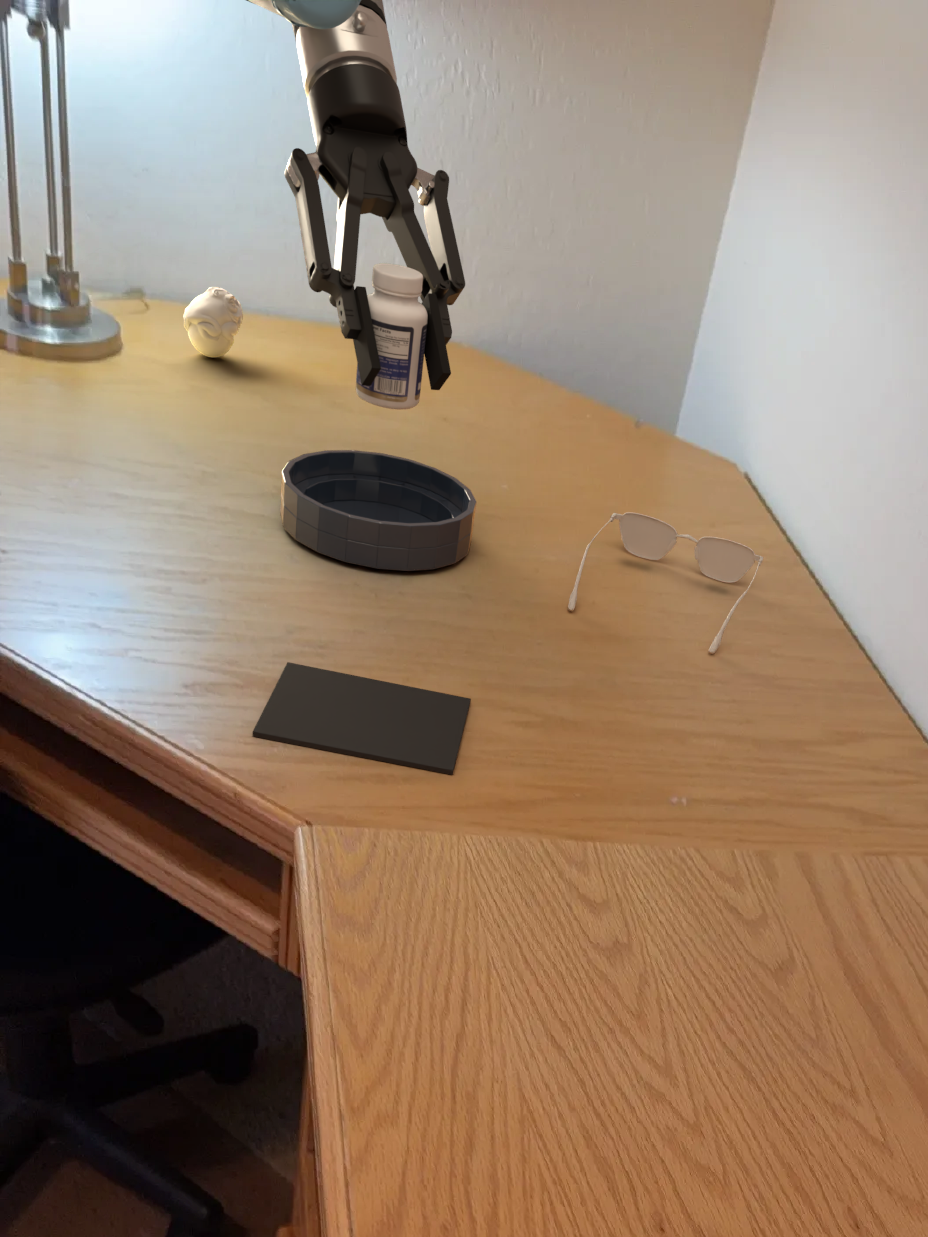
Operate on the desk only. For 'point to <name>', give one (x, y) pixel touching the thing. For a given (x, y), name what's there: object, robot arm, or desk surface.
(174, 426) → the desk surface
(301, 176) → the robot arm
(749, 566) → the eyeglasses
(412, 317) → the pill bottle
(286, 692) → the mat
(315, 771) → the desk surface
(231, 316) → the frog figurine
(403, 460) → the bowl
